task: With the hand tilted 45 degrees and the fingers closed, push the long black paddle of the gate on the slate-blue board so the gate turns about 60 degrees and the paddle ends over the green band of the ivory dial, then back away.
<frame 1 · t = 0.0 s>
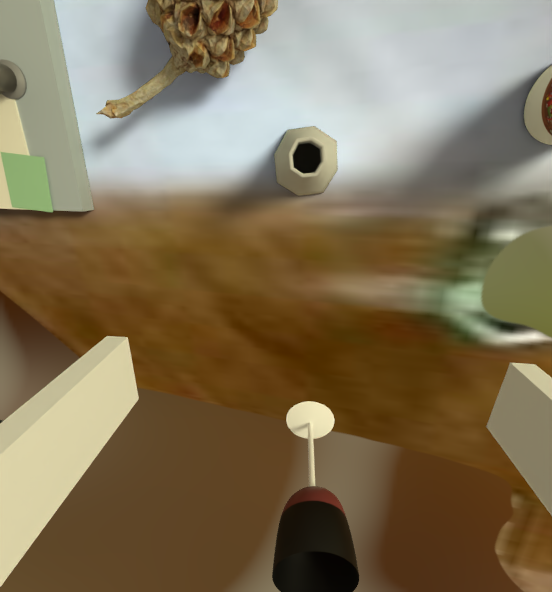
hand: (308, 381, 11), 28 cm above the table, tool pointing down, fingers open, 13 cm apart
flask: (305, 162, 34), on the table
wineglass: (310, 419, 47), on the table
pine cone: (204, 53, 31), on the table
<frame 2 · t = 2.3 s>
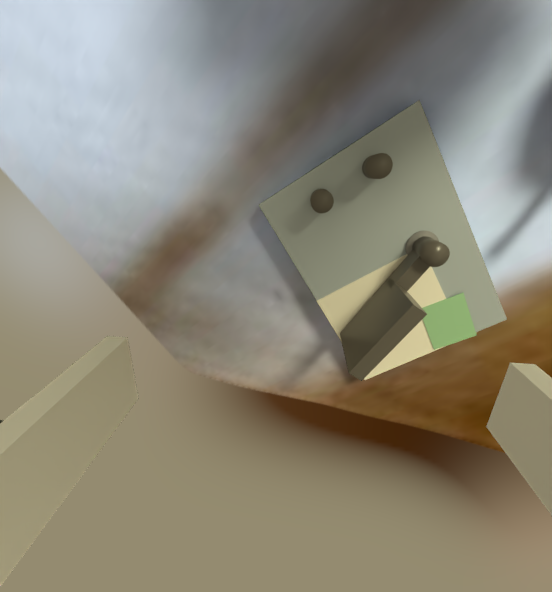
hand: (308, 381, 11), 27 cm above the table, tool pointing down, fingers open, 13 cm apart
board: (382, 259, 36), on the table
gate: (394, 305, 31), point 7 cm above the table, hinge at 0.0°
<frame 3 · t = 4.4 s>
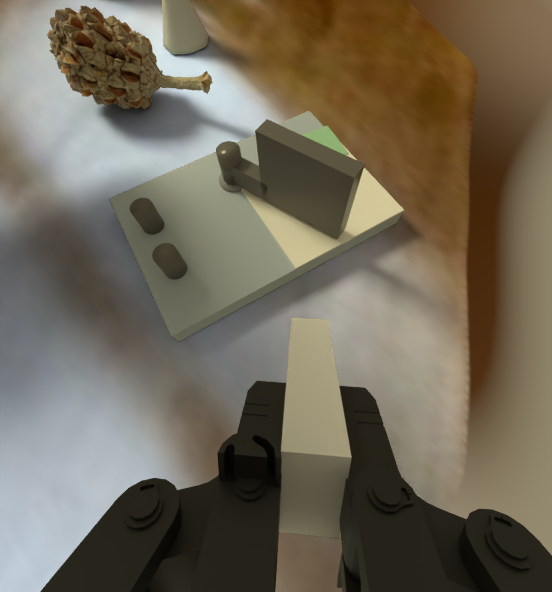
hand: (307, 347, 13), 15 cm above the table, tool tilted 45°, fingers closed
board: (253, 216, 34), on the table
flask: (187, 43, 48), on the table
gate: (279, 171, 28), point 7 cm above the table, hinge at 0.0°
pine cone: (153, 106, 42), on the table
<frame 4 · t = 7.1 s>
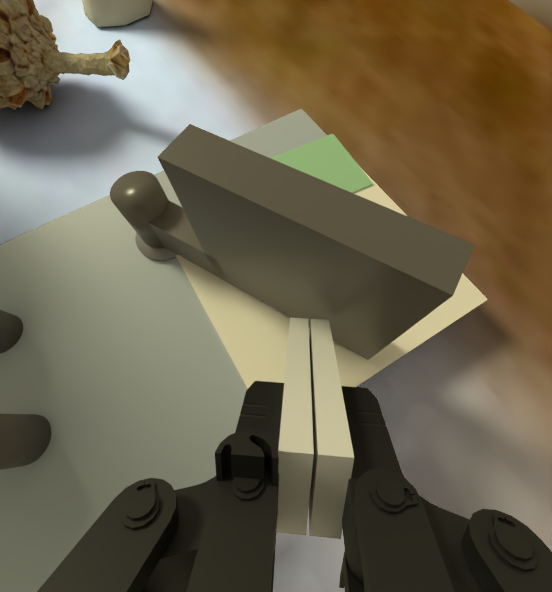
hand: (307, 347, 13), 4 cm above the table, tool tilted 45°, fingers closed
board: (202, 300, 19), on the table
flask: (121, 12, 32), on the table
gate: (237, 235, 13), point 7 cm above the table, hinge at 3.0°, touching gripper
pine cone: (57, 105, 27), on the table
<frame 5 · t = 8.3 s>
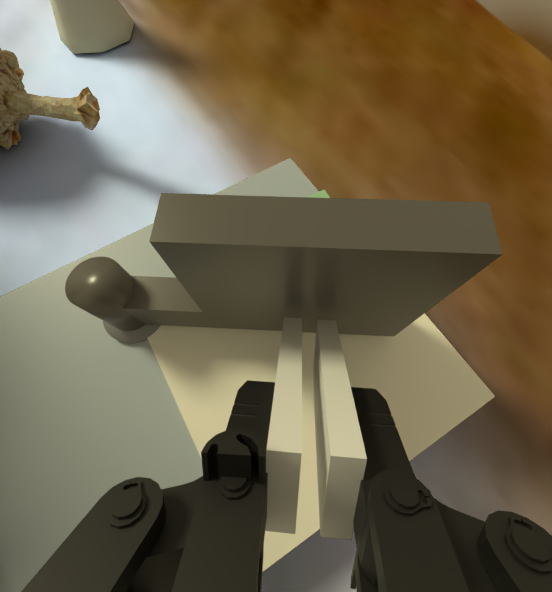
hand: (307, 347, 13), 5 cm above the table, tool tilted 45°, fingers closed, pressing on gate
board: (178, 381, 17), on the table
flask: (100, 37, 30), on the table
gate: (236, 281, 12), point 7 cm above the table, hinge at 30.5°, touching gripper
pine cone: (26, 143, 25), on the table
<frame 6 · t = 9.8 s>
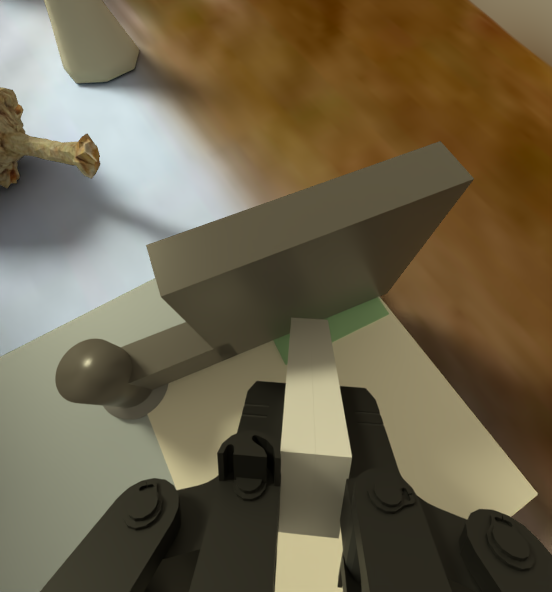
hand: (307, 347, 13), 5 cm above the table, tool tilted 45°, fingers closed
board: (181, 456, 15), on the table
flask: (104, 64, 29), on the table
gate: (238, 303, 11), point 7 cm above the table, hinge at 56.8°, touching gripper
pine cone: (26, 180, 24), on the table
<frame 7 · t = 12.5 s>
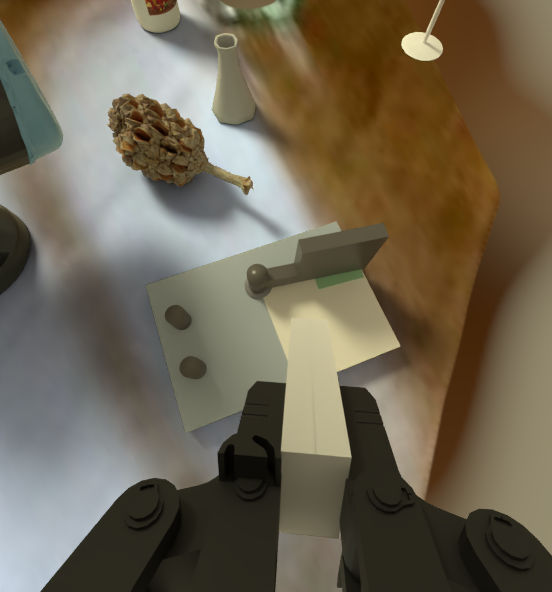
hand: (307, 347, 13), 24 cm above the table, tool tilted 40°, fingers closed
board: (269, 319, 38), on the table
flask: (234, 110, 49), on the table
wineglass: (421, 47, 55), on the table
milk bottle: (160, 21, 56), on the table
gate: (311, 260, 34), point 7 cm above the table, hinge at 56.9°
pine cone: (194, 179, 45), on the table
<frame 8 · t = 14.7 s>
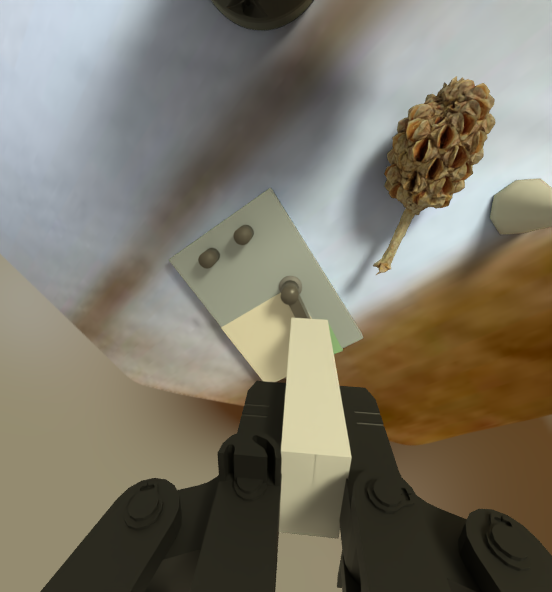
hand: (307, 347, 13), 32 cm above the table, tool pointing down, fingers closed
board: (269, 294, 47), on the table
flask: (516, 207, 40), on the table
gate: (307, 336, 42), point 7 cm above the table, hinge at 56.9°
pine cone: (405, 188, 40), on the table
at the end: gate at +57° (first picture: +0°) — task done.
